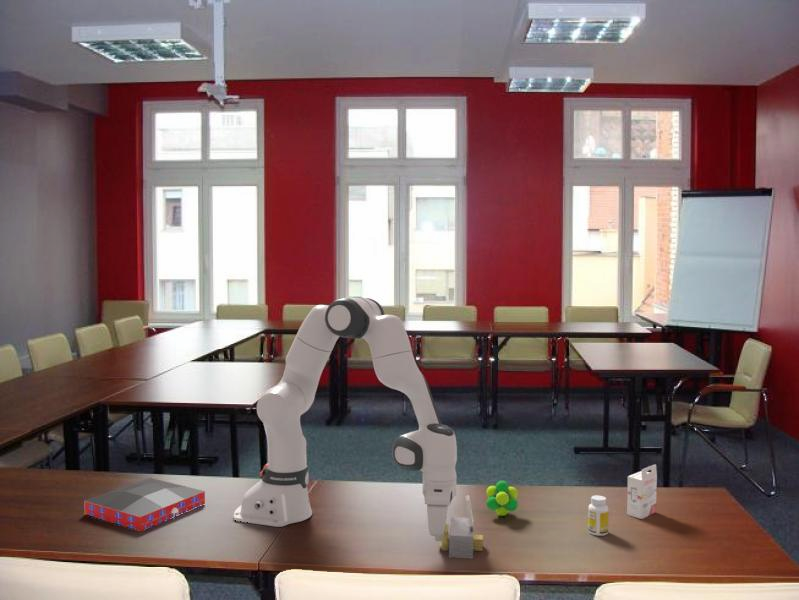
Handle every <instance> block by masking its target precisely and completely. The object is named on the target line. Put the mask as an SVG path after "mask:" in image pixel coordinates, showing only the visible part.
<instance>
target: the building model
mask: <svg viewBox="0 0 799 600" xmlns="http://www.w3.org/2000/svg"><path fill="white" fill-rule="evenodd" d="M205 497H206V493H205V490H202V489H198V488H194V487H190V486H185V485H181V484H178V483H172V482H168V481H164V480H160V479H156V478H152V477H148V478H146V479H145V478H144V479H142V480H139V481H137V482H135V483H131V484H128V485H125V486H122V487H118V488H116V489H114V490H110V491H107V492H105V493H102V494H99V495H96V496H93V497H90V498H87V499H84V500H83V502H84V504H83V506H84V507H83V508H84V515H85V514H87V515H90V516H94V517H96V518H99V519H104V520H106V521H109V522H113V523H116V524H120V525H123V526H126V527H129V528H128V529H130V528H133V529H136V530H139V531H142V530H144V529H146V528H148V527H151V526H154V525H156V524H159V523H161V522H163V521H165V520H168V519H170V518H172V517H175V516H176V515H178V516H179V514H181V513H184V512H186V511H189V510H191V509H193V508H195V507H198V506H200V505H203V504H205V505H206V498H205ZM189 512H190V511H189ZM179 517H180V516H179ZM96 518H95V519H96ZM175 518H176V517H175ZM99 519H98V520H99ZM172 519H173V518H172ZM170 520H171V519H170ZM106 521H105V522H106ZM168 521H169V520H168ZM109 522H108V523H109ZM165 522H166V521H165ZM163 523H164V522H163ZM116 524H115V525H116ZM161 524H162V523H161ZM120 525H119V526H120ZM159 525H160V524H159ZM156 526H157V525H156ZM126 527H125V528H126ZM154 527H155V526H154ZM151 528H152V527H151ZM133 529H132V530H133ZM136 530H135V531H136ZM139 531H138V532H139ZM144 531H145V530H144ZM142 532H143V531H142Z"/></svg>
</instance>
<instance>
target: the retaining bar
mask: <svg viewBox="0 0 799 600" xmlns="http://www.w3.org/2000/svg"><path fill="white" fill-rule="evenodd" d="M464 499H465V500H464V502H465V509H466V514H467V518H468V522H469V528H470V529H473V525H474V524H475V523H474V522H475V521H473V518H474V516H473V510H472V503H471V499H470V495H469V494H468V495H466V494H465V498H464ZM474 526H475V525H474Z"/></svg>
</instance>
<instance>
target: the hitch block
mask: <svg viewBox="0 0 799 600" xmlns="http://www.w3.org/2000/svg"><path fill="white" fill-rule="evenodd" d="M474 520H475V517H473V521H474ZM474 522H475V521H474ZM474 527H475V525H473V529H470V528H469V522H468V517H466V516H465V517H464V516H463V517H461V516H451V517H450V525H449V549H448V558H456V559H457V558H458V559H473V560H474V550H473V534H474V531H475V529H474ZM474 535H475V534H474Z"/></svg>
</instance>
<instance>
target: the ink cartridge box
mask: <svg viewBox="0 0 799 600" xmlns="http://www.w3.org/2000/svg"><path fill="white" fill-rule="evenodd" d="M649 471H650V472H649ZM657 473H658V470H657V464H652V465H649V466H646V467H645V468H642V469H641V471H637V472H635V473H633V474H630V475H628V476H627V493H626V494H627V495H626V496H627V497H626V498H627V502H626V503H627V504H626V507H627V509H626V516H629V517H633V518H636V519H639V520H642V519H645V518H647V517H649V516H651V515H653V514H655V513H656V512H657V492H658V491H657V486H658V485H657V484H658V474H657Z"/></svg>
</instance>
